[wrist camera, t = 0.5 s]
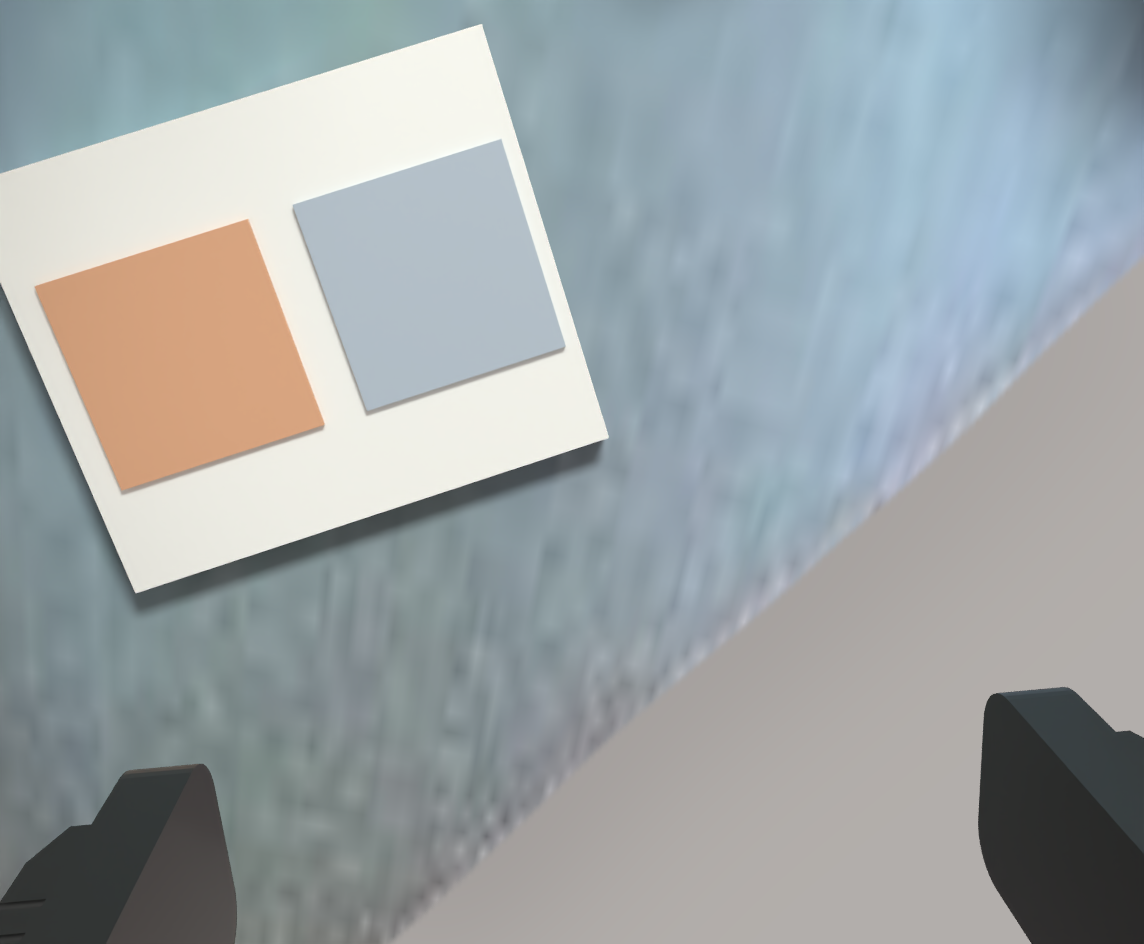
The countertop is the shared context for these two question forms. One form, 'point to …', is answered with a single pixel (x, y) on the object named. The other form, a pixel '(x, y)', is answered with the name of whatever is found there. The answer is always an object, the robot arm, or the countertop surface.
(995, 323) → the countertop surface
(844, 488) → the countertop surface
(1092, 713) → the robot arm
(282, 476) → the picture board
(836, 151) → the countertop surface
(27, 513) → the countertop surface
